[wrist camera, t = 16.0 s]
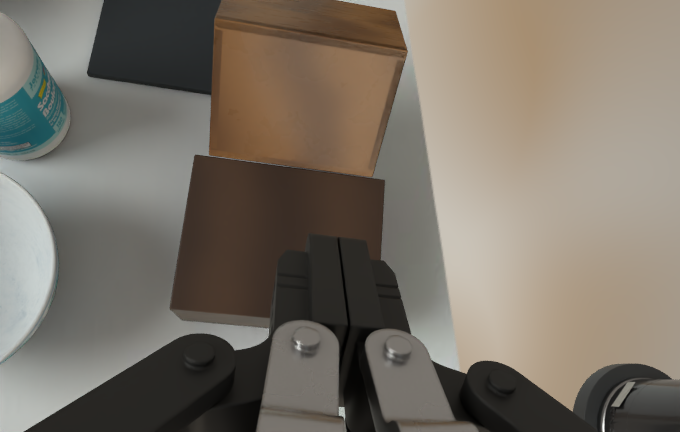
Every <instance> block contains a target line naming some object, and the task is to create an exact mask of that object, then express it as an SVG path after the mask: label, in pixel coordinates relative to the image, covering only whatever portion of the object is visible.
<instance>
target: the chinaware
mask: <svg viewBox="0 0 680 432" xmlns="http://www.w3.org/2000/svg"><path fill="white" fill-rule="evenodd" d="M58 273H59V258H58V249H57V244H56V240H55V236H54V233H53V230H52V228H51V225H50V223H49V221H48V219H47V217H46V215H45V213H44V211H43V210H42V208H41V207H40V205H39V204H38V203H37V201H36V200H35V199H34V198H33V197H32V196H31V194H30V193H29V192H28V191H27V190H26V189H24V188H23V187H22V186H21V185H20V184H18V183H17V182H16V181H14V180H13V179H11V178H10V177H8V176H6V175H4V174H3V173H1V172H0V364H2V363H3V362H4V361H6V360H7V359H8V358H10V357H11V356H12V355H13V354H15V353H16V352H17V351H18V350H19V349H20V348H21V347H22V346H23V345H24V344H25V343H26V342H27V341H28V340H29V339H30V337H31V336H32V335H33V334H34V333H35V331H36V330H37V329H38V327H39V326H40V324H41V323H42V321H43V319H44V318H45V316H46V314H47V312H48V310H49V308H50V306H51V303H52V300H53V298H54V294H55V291H56V287H57V282H58Z"/></svg>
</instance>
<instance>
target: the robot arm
mask: <svg viewBox="0 0 680 432" xmlns="http://www.w3.org/2000/svg"><path fill="white" fill-rule="evenodd" d="M339 407H345V421H344V418H343V417H342V416H339ZM597 429H598V430H596V429H595V428H594V427H592V426H591V425H589V424H588V423H587V422H585V421H584V420H583V419H581V418H580V417H579V416H577V415H576V414H575V413H573V412H572V411H570V410H569V409H568V408H566V407H565V406H564V405H562V404H561V403H560V402H558V401H557V400H555V399H554V398H553V397H551V396H550V395H549V394H547V393H546V392H545V391H543V390H542V389H540V388H539V387H538V386H536V385H535V384H533V383H532V382H531V381H529V380H528V379H527V378H525V377H524V376H523V375H521V374H520V373H519V372H517V371H516V370H514V369H512V368H511V367H509V366H506V365H504V364H502V363H498V362H493V361H480V362H477V363H475V364H473V365H472V366H471V367H470V368H469V370H468V372H467V374H465V373H462V372H459V371H456V370H453V369H450V368H447V367H444V366H442V365H439V364H437V363H435V362H433V361H432V360H431V358H430V355H429V353H428V351H427V349H426V347H425V346H424V344H423V343H422V342H421V341H420V340H418V339H417V338H416V337H414V336H413V335H411V332H410V328H409V324H408V321H407V317H406V313H405V310H404V306H403V302H402V300H401V295H400V291H399V289H398V284H397V280H396V277H395V273H394V272H393V271H392V270H391V269H390V267H389V266H388V265H387V264H386V263H385V262H384V261H381V260H373V259H370V255H369V250H368V246H367V241H366V240H363V239H355V238H347V237H338V238H337V237H336V236H329V235H321V234H313V233H309V234H308V237H307V241H306V247H305V252H303V251H295V250H286V251H285V252H284V253H283V255H282V256H281V257H280V258H279V259H278V263H277V269H276V276H275V282H274V289H273V296H272V302H271V310H270V325H269V338H268V339H266V340H265V341H264V342H262V343H261V344H259V345H257V346H254V347H251V348H247V349H242V350H235V351H234V349H233V347H232V346H231V345H230V344H229V343H228V342H227V341H225V340H224V339H222V338H220V337H217V336H214V335H210V334H190V335H185V336H182V337H180V338H178V339H176V340H174V341H172V342H171V343H169V344H167V345H166V346H164V347H162V348H161V349H159V350H157V351H156V352H154V353H152V354H151V355H149V356H148V357H146V358H144V359H143V360H141V361H139V362H138V363H136V364H134V365H133V366H131V367H129V368H128V369H126V370H125V371H123V372H121V373H120V374H118V375H116V376H115V377H113V378H111V379H110V380H108V381H106V382H105V383H103V384H102V385H100V386H98V387H97V388H95V389H93V390H92V391H90V392H88V393H87V394H85V395H83V396H82V397H80V398H78V399H77V400H75V401H74V402H72V403H70V404H69V405H67V406H65V407H64V408H62V409H60V410H59V411H57V412H55V413H54V414H52V415H51V416H49V417H47V418H46V419H44V420H42V421H41V422H39V423H37V424H36V425H34V426H32V427H31V428H29V429H28V430H26V431H24V432H680V380H671V379H650V378H629V379H625V380H623V381H621V382H619V383H617V384H615V385H614V386H613V387H612V388H611V389H610V390H609V391H608V392H607V394H606V395H605V397H604V398H603V400H602V402H601V405H600V408H599V412H598V420H597Z"/></svg>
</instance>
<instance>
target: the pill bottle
mask: <svg viewBox="0 0 680 432" xmlns="http://www.w3.org/2000/svg"><path fill="white" fill-rule="evenodd" d="M69 125H70V109H69V106H68V103H67V101H66V99H65V97H64V96H63V94H62V92H61V91H60V89H59V87H58V86H57V84H56V83H55V81H54V79H53V78H52V76H51V75H50V73H49V72H48V70H47V68H46V67H45V65H44V64H43V62H42V60H41V59H40V57H39V56H38V54H37V52H36V51H35V49H34V47H33V46H32V44H31V43H30V41H29V39H28V38H27V36H26V35H25V33H24V32H23V30H22V29H21V28H20V26H19V25H18V24H17V23H16V22H15V21H13V20H12V19H11V18H9V17H8V16H7V15H5V14H3V13H2V12H0V157H2V158H5V159H10V160H29V159H34V158H37V157H40V156H43V155H45V154H47V153H48V152H50V151H52V150H53V149H54V148H55V147H57V146H58V145H59V144H60V143H61V141H62V140H63V139H64V137H65V136H66V134H67V132H68V129H69Z"/></svg>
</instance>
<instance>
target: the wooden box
mask: <svg viewBox="0 0 680 432" xmlns="http://www.w3.org/2000/svg"><path fill="white" fill-rule="evenodd" d="M407 52H408V51H407V48H406V44H405V41H404V38H403V34H402V31H401V28H400V25H399V21H398V18H397V15H396V11H392V10H387V9H381V8H376V7H370V6H365V5H359V4H354V3H348V2H343V1H337V0H221V3H220V6H219V8H218V11H217V14H216V16H215V19H214V45H213V69H212V94H211V118H210V142H209V155H211V156H218V157H226V158H233V159H241V160H248V161H256V162H263V163H271V164H278V165H285V166H293V167H300V168H308V169H315V170H323V171H330V172H338V173H345V174H352V175H360V176H367V177H372V176H373V173H374V169H375V166H376V162H377V159H378V155H379V152H380V148H381V144H382V141H383V137H384V134H385V130H386V127H387V123H388V120H389V116H390V112H391V109H392V105H393V102H394V98H395V95H396V91H397V88H398V84H399V80H400V77H401V73H402V70H403V66H404V63H405V59H406V56H407Z"/></svg>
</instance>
